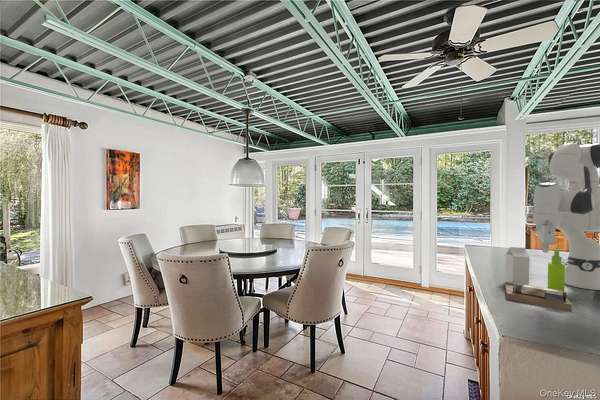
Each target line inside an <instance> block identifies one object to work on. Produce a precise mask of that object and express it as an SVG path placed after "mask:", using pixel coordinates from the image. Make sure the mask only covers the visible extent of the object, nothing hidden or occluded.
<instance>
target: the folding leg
mask: <svg viewBox="0 0 600 400" xmlns="http://www.w3.org/2000/svg"><path fill="white" fill-rule="evenodd" d="M534 286H535V285H530V286H528V285H523V284H519V283H513V291H514V292H517V293H524V294H529V295H535V296H541V297H545V291H550V292H556V293H562V294H563V300H566V298H567V297H568V296H567V291H564V292H562V291H559V290H553V289H547V288H548V287H543V288H540V287H541V286H536V287H534ZM567 299H568V298H567Z"/></svg>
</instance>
